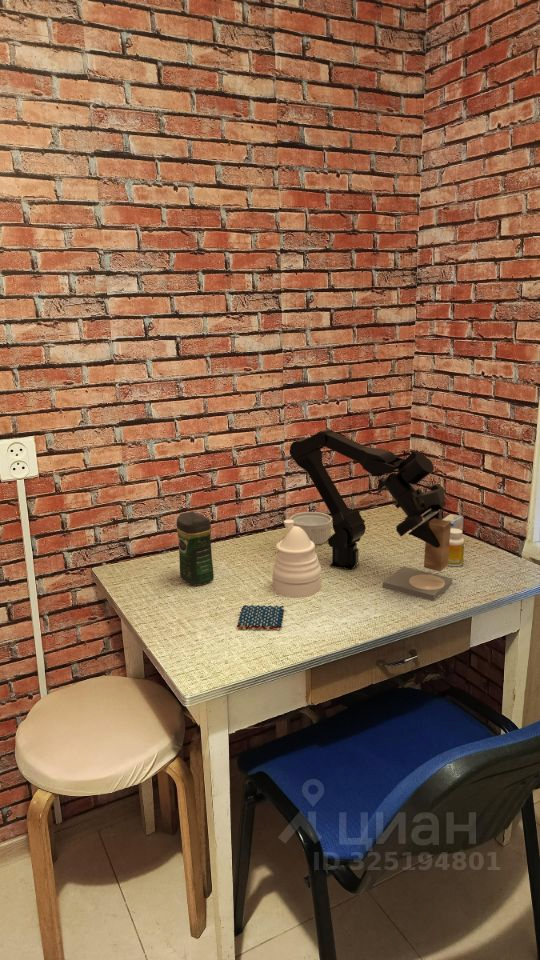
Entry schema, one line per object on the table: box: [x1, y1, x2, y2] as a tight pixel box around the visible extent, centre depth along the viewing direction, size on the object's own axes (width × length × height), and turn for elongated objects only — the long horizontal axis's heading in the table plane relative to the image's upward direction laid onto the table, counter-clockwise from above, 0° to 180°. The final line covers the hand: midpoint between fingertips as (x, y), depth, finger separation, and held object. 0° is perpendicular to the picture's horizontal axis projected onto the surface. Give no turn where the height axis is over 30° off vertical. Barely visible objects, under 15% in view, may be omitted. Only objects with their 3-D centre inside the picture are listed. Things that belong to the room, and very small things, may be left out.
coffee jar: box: [176, 510, 215, 586], centre depth 173 cm, size 10×8×19 cm
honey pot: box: [271, 519, 323, 598], centre depth 167 cm, size 13×13×18 cm
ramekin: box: [289, 511, 333, 546], centre depth 201 cm, size 13×13×7 cm
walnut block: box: [423, 518, 451, 573], centre depth 162 cm, size 4×4×12 cm
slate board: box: [382, 565, 453, 602], centre depth 168 cm, size 14×12×2 cm
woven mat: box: [236, 604, 285, 632], centre depth 152 cm, size 10×11×2 cm
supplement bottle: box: [447, 528, 465, 567], centre depth 180 cm, size 5×5×10 cm
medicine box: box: [442, 513, 464, 534], centre depth 193 cm, size 8×4×9 cm, turn 144°
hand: (442, 543), depth 161 cm, fingers closed on walnut block, 4 cm apart
